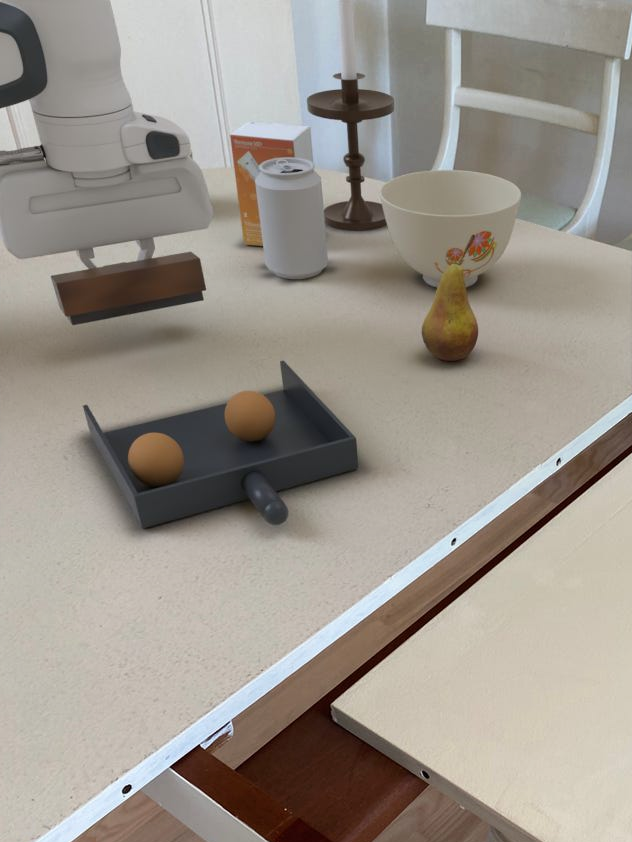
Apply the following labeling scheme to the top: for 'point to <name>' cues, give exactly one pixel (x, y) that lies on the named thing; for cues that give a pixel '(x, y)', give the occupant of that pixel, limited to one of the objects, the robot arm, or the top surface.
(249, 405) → the ball right
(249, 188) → the small box
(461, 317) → the fruit
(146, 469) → the ball left
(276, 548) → the top surface
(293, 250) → the can
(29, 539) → the top surface
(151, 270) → the brush
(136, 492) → the dustpan
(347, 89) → the candlestick
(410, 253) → the bowl
